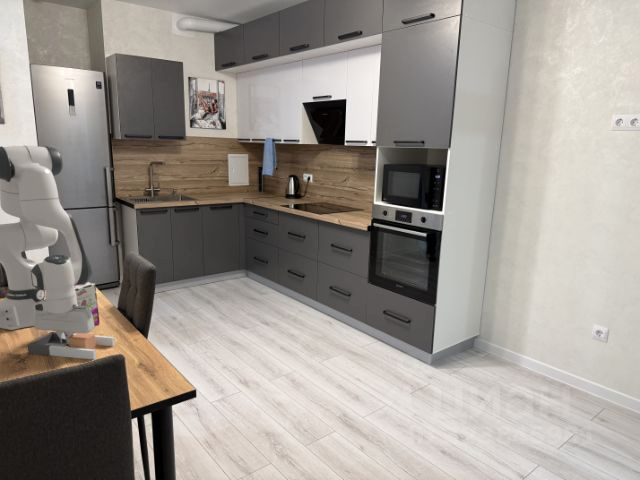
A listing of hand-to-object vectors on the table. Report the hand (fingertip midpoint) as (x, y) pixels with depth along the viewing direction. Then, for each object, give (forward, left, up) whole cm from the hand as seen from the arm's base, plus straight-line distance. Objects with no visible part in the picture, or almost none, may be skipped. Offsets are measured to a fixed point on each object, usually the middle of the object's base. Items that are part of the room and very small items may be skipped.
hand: (66, 342), depth 151 cm
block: (+6, 0, -2) cm, 6 cm away
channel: (+6, 0, -2) cm, 6 cm away
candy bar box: (-7, +17, -2) cm, 19 cm away
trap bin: (-6, 0, -2) cm, 6 cm away
